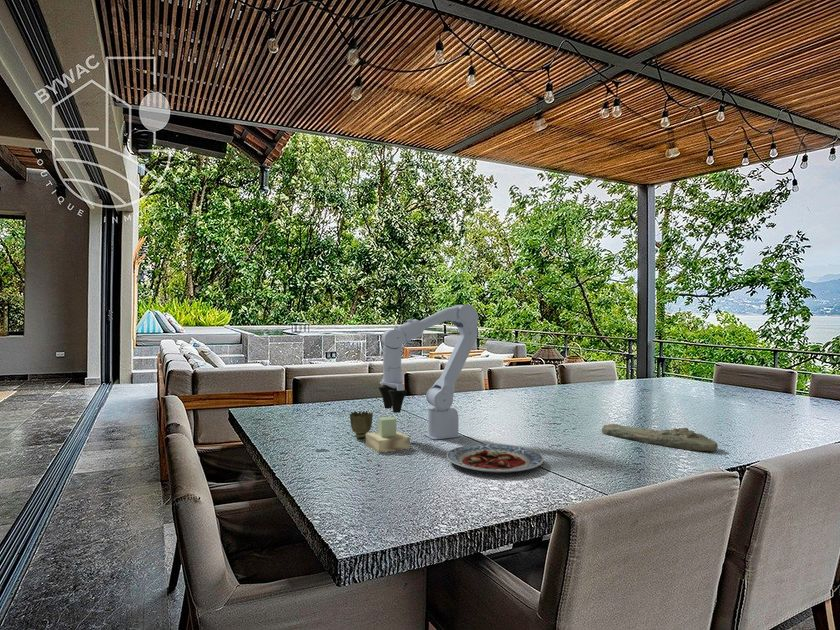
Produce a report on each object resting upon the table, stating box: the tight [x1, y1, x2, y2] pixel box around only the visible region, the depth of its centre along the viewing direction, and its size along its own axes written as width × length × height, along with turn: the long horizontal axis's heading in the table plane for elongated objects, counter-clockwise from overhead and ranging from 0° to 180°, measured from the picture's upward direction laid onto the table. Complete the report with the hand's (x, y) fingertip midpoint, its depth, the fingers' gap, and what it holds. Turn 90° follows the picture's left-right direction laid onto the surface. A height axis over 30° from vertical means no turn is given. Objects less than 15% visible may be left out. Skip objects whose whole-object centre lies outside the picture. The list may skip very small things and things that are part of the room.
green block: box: [377, 416, 397, 437], centre depth 159 cm, size 4×4×5 cm
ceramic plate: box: [446, 443, 545, 474], centre depth 142 cm, size 26×26×3 cm
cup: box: [349, 410, 374, 440], centre depth 170 cm, size 8×7×8 cm
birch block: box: [365, 430, 411, 454], centre depth 158 cm, size 10×10×4 cm
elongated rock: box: [601, 423, 718, 452], centre depth 166 cm, size 35×5×10 cm
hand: (392, 410), depth 167 cm, fingers open, 7 cm apart
